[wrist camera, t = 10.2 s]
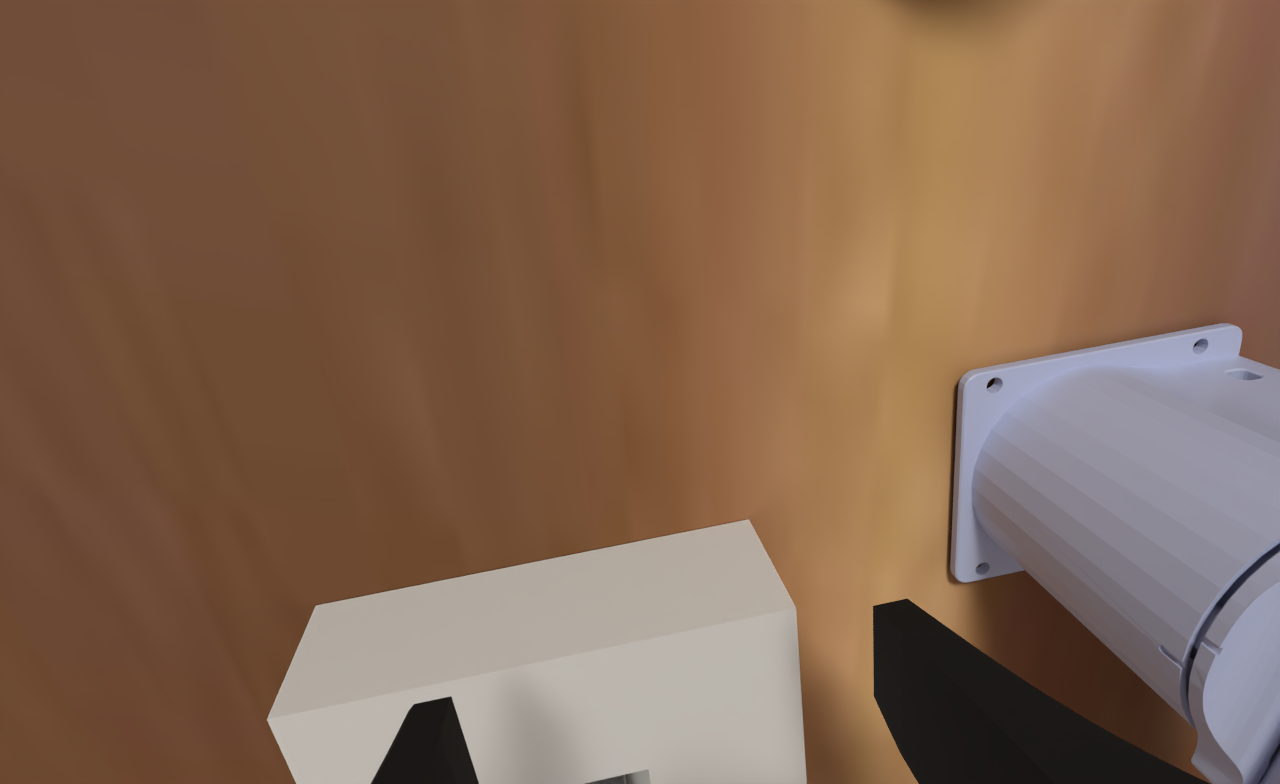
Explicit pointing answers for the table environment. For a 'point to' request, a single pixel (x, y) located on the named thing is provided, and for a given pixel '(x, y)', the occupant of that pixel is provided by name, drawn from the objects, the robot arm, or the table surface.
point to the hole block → (565, 669)
